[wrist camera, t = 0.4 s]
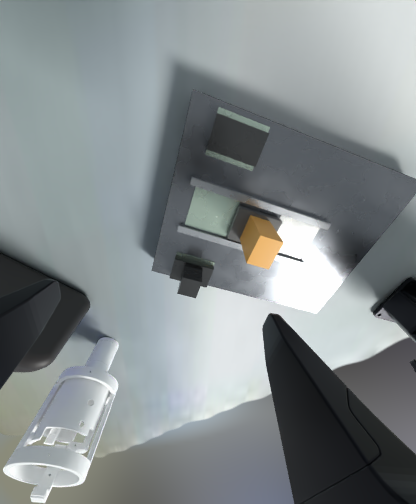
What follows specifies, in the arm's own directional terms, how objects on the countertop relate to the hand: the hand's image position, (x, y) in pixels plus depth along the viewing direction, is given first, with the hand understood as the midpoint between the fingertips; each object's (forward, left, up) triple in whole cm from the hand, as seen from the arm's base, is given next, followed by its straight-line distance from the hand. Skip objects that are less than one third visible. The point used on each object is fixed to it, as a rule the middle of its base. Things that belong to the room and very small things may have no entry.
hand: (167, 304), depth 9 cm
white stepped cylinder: (+6, +24, -14) cm, 28 cm away
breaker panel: (-8, -1, -13) cm, 15 cm away
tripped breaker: (-6, -1, -11) cm, 13 cm away
